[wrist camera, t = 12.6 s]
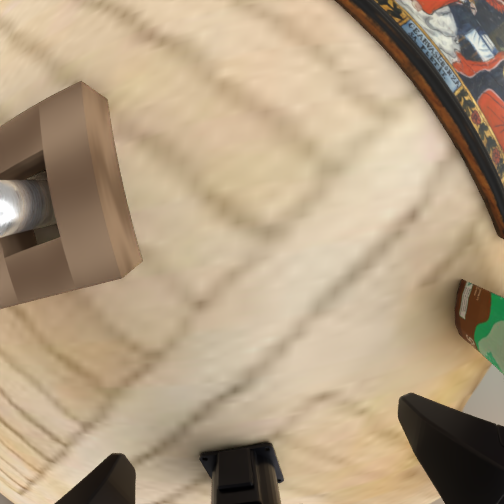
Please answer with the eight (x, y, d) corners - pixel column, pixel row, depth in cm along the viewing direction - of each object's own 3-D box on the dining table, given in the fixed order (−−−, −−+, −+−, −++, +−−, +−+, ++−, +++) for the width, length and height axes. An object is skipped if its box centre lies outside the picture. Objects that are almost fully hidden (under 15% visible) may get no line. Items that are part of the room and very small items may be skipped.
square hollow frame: (142, 261, 18) (121, 278, 14) (24, 293, 18) (-7, 310, 14) (107, 99, 16) (80, 80, 12) (-6, 158, 16) (-39, 156, 12)
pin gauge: (75, 217, 17) (-3, 234, 10) (43, 229, 17) (-34, 250, 10) (66, 174, 17) (-13, 170, 9) (35, 188, 17) (-44, 193, 9)
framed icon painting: (422, -95, 11) (430, -104, 8) (572, 82, 18) (583, 80, 15) (239, -25, 15) (241, -47, 13) (505, 265, 22) (525, 273, 19)
